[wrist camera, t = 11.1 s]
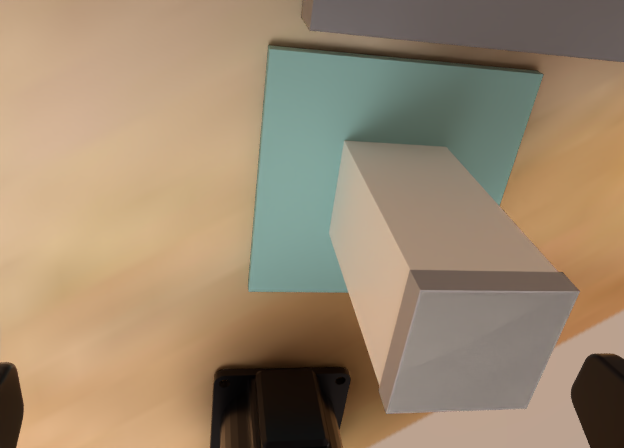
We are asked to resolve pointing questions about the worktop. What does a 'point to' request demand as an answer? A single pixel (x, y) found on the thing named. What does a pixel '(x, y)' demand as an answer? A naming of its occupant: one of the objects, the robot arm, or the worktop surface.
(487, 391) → the beige grey rectangular block
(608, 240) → the worktop surface
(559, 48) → the grey panel
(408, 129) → the teal mat
